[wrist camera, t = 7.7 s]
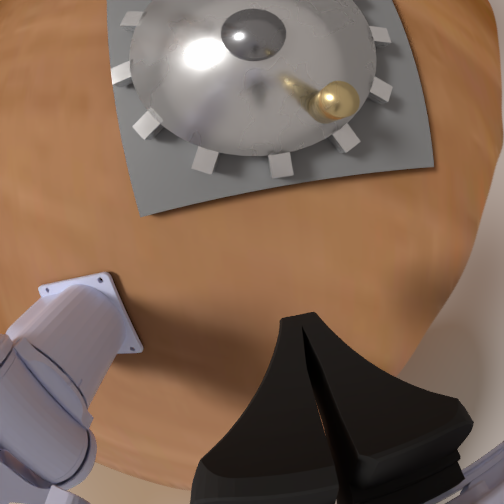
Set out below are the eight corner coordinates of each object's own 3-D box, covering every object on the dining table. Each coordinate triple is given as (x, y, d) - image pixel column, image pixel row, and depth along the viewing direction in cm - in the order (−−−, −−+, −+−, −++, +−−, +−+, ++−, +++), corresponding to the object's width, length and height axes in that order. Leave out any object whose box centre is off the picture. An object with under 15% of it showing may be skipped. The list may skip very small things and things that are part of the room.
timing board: (145, 213, 18) (139, 217, 17) (112, -16, 11) (106, -21, 9) (426, 165, 17) (435, 167, 15) (358, -49, 9) (362, -56, 8)
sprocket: (337, 217, 17) (364, 238, 13) (87, 139, 15) (47, 140, 10) (404, 12, 11) (434, -9, 7) (181, -53, 9) (169, -84, 5)
